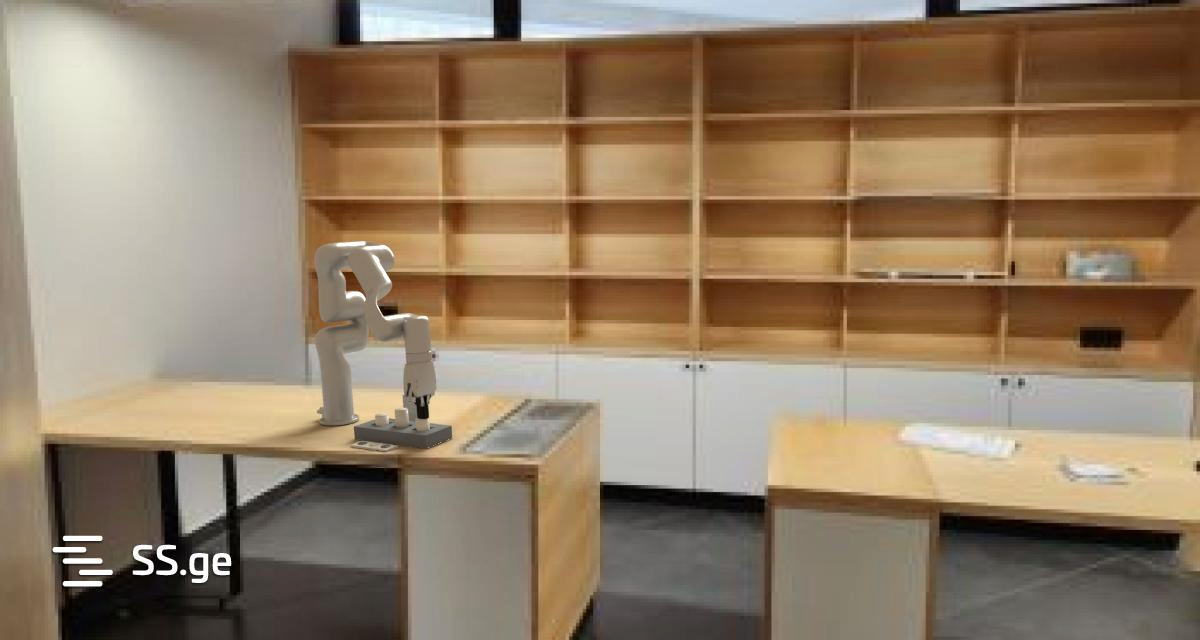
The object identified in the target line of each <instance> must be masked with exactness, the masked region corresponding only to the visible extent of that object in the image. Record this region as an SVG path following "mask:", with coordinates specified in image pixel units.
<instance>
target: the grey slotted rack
mask: <svg viewBox="0 0 1200 640" xmlns="http://www.w3.org/2000/svg"><path fill="white" fill-rule="evenodd" d="M353 435H354V436H353V437H354V440H358V441H369V442H376V443H383V444H391V445H394V444H396V445H398V446H401V445H403V446H402V447H409V446H412V447H411V448H416V447H421V448H420V449H423V448H428V447H430V448H432V447H431V446H433V445H435V444H438V443H440V442H443V441H445V442H447V441H446V440H448V439H450V440H452V439H453V426H452V425H449V424H448V425H447V424H441V423H431V422H430V429H429V430H427V431H417V430H416V421H409V427H407V428H404V429H401V428H396V425H395V418H390V417H389V424H388V425H385V426H376V423H375V419H373V420H369V421H366V422H363V423H360V424H357V425H354V426H353ZM451 438H452V439H451ZM448 441H449V440H448ZM443 443H444V442H443ZM440 444H441V443H440ZM438 445H439V444H438ZM435 446H436V445H435ZM433 447H434V446H433ZM428 449H429V448H428Z"/></svg>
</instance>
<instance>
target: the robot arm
mask: <svg viewBox="0 0 1200 640" xmlns="http://www.w3.org/2000/svg"><path fill="white" fill-rule="evenodd" d="M313 259H314V261H313V262H314V263H313V264H314V267H315V268H314V269H315V272H316V275H317V282H318V313H319V316H320V319H321V320H322V321H323V322H324V323H328V324H330V323H332V324H333V323H341V322H346V321H348V322H347V323H345V324H337V325H331V326H327V327H324V328H320V329H319V330H318V331H317V332H316V334H315V336H314V345H315V349H316V353H317V356H318V361H319V362H318V363H319V369H320V377H321V380H320V381H321V393H322V403H323V404H322V405H323V406H320V407H319V408H318V409H317V410H316V414H319V415H321V418H320V419H319V424H320V425H322V426H328V427H330V426H333V427H334V426H335V427H336V426H344V425H349V424H353V423H357V422H358V421H359V420H360V416H359V414H357V413H355V408H354V398H353V397H354V396H353V383H352V382H353V380H352V369H351V368H352V367H351V366H350V363H349V362H348V360H347V358H345V357H344V355H345V354H349V353H356V352H360V351H363V350H365V348H367V346H368V345H369V344H368V343H369V338H370V337H369V336H370V335H369V334H370V333H369V331H371V333H372V335H373V336H374V337H375V339H377V340H378V341H380V342H384V343H386V342H393V341H398V340H404V348H405V349H404V351H405V364H404V367H403V382H402V383H403V385H402V386H403V395H405V396H406V397H408V401H409V402H414V403H415V406H416V407H417V418H418V419H427V418H429V419H430V409H428V405H429V406H430V402H431V401H430V400H431V398H432V397H433V396H435V395H436V393H435V392H436V390H437V378H436V370H435V365H434V361H433V356H432V355H433V354H432V353H433V352H432V343H431V329H430V328H431V327H430V319H429V317H427V315H421V314H419V315H416V314H414V313H411V312H406V313H399V314H398V313H397V314H391V315H385V316H384V315H383V313H382V312H381V310H380V308H379V306H378V301H380V300H382V299H383V298H384V297H386V296H387V295H388V294H389V293H390V292H391V290H392V288H393V283H392V280H391V279H390V277H389V275H388V274H387V273H386V272H388V271H389V272H390V271H391V270H392V269H393V268H394V266H395V261H396V259H395V255H394V252H393V251H392V250H391V248H389V246H387V245H384V244H382V243H377V242H376V243H375V242H372V241H367V240H356V241H355V240H354V241H340V242H339V241H338V242H331V243H327V244H322V245H321V246H319V247H318V248H317V249H316V251H315V254H314V258H313ZM344 269H345V270H346V269H351V271H352V272H353V274H354V276H355V277H356V279H357V282H358V283H359V285H360V286H361V289H362V290H363V291H364V294H365V295H366V296H365V295H364V294H363V293H362V292H360V291H358V290H348V291H347V280H346V277H345V275H344V274H343V272H342V271H341V270H344Z"/></svg>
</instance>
